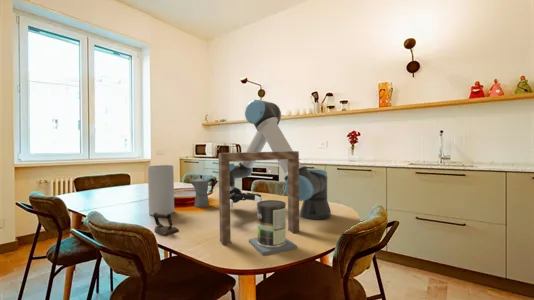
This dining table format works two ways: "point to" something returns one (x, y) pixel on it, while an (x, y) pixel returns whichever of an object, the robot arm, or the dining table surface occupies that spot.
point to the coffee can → (271, 223)
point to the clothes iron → (164, 229)
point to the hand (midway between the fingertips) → (246, 202)
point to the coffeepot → (202, 191)
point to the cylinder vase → (161, 189)
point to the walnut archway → (252, 156)
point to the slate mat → (265, 250)
